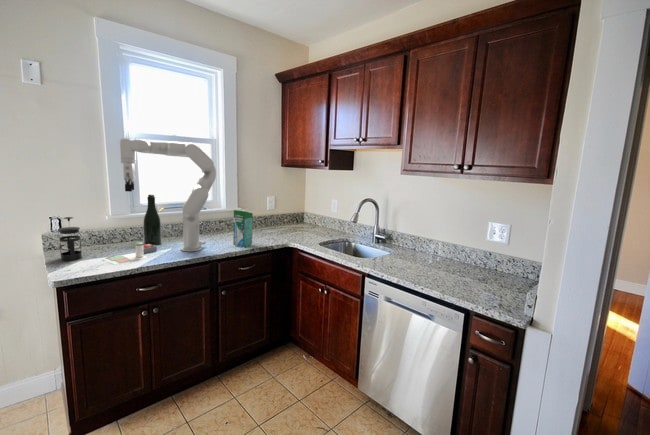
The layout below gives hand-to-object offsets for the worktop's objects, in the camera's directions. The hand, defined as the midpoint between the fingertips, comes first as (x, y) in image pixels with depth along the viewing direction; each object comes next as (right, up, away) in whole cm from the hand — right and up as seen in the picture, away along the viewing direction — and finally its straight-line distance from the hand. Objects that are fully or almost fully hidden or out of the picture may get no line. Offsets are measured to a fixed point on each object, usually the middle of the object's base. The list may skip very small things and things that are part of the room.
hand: (129, 190), depth 185 cm
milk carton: (+57, -35, +35) cm, 76 cm away
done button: (+7, -35, +6) cm, 36 cm away
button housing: (+7, -37, +6) cm, 38 cm away
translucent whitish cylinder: (+9, -38, -6) cm, 39 cm away
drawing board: (+3, -39, -9) cm, 40 cm away
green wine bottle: (-2, -33, +28) cm, 44 cm away
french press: (-24, -39, -12) cm, 47 cm away
